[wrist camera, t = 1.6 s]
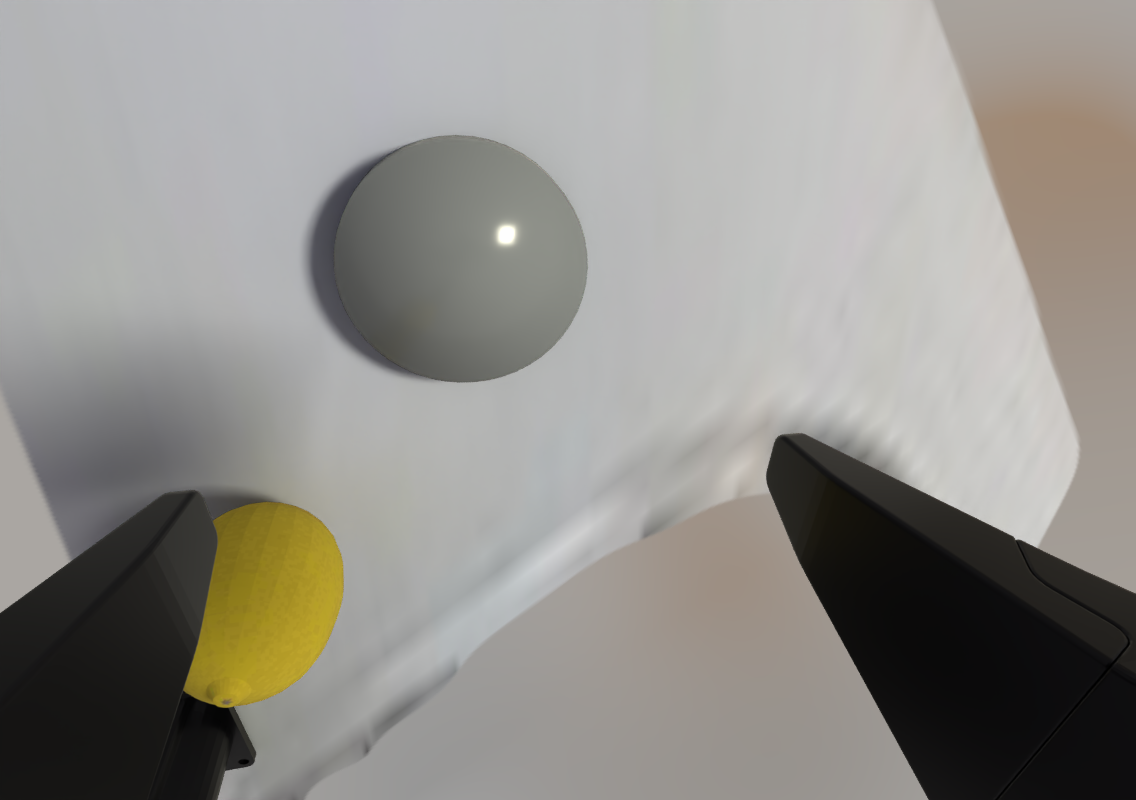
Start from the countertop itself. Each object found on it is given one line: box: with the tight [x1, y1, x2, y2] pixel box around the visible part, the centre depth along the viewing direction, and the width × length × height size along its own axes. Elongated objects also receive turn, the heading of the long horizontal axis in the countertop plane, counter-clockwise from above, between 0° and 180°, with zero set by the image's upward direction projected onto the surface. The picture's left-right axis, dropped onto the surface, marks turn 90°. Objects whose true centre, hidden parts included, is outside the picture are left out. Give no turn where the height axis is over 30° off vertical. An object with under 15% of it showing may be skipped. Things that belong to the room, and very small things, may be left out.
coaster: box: [334, 135, 588, 382], centre depth 20 cm, size 8×8×1 cm
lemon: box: [183, 502, 344, 708], centre depth 21 cm, size 6×6×8 cm
